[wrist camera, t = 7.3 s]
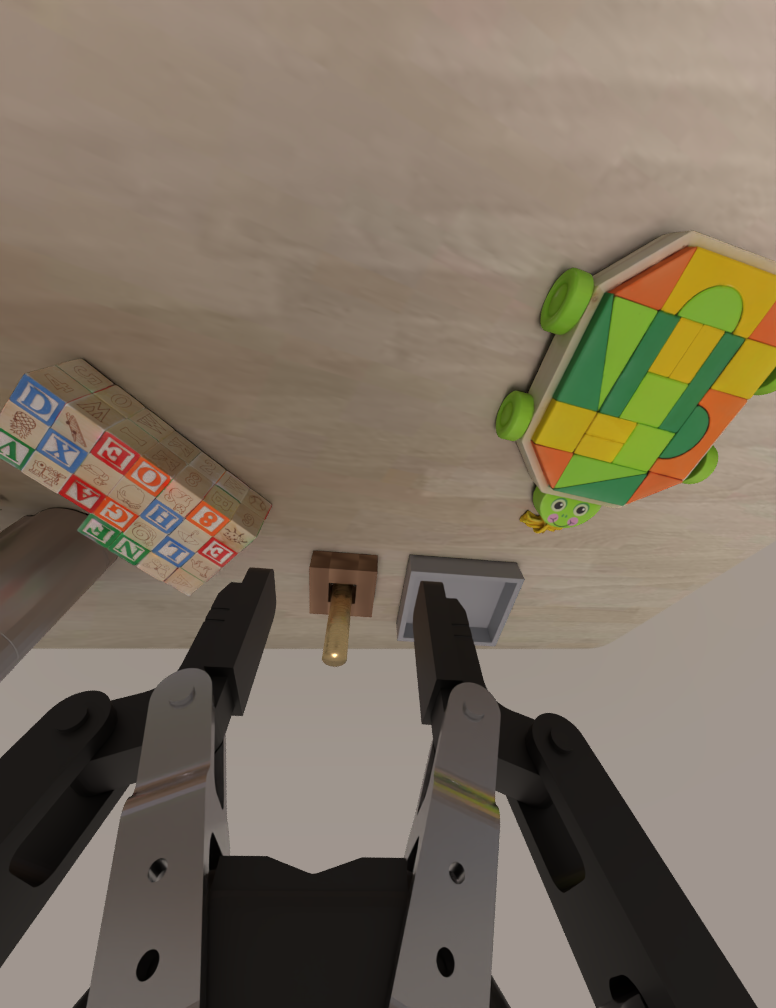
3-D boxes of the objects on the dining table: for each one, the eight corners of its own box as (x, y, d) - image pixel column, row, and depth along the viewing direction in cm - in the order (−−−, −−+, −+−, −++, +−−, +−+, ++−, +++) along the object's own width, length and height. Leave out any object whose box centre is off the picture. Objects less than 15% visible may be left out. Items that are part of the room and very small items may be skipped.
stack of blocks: (82, 355, 31) (27, 441, 36) (22, 370, 26) (-35, 469, 30) (273, 505, 40) (211, 560, 44) (257, 539, 35) (188, 598, 39)
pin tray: (396, 622, 51) (397, 640, 49) (409, 554, 45) (411, 571, 42) (489, 628, 53) (495, 646, 50) (516, 562, 46) (524, 579, 43)
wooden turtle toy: (454, 508, 41) (463, 537, 37) (580, 210, 27) (622, 196, 22) (615, 542, 45) (643, 573, 40) (805, 292, 30) (883, 295, 26)
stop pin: (334, 582, 47) (321, 666, 37) (334, 568, 46) (322, 651, 35) (353, 583, 47) (345, 667, 37) (354, 569, 46) (347, 652, 36)
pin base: (313, 595, 48) (309, 613, 46) (313, 550, 44) (309, 567, 41) (371, 599, 49) (371, 617, 46) (377, 555, 44) (377, 572, 42)
